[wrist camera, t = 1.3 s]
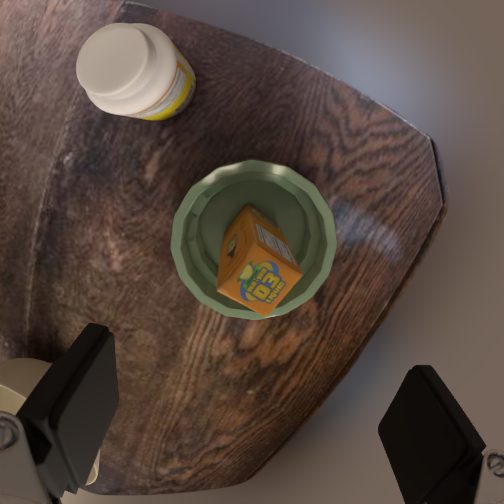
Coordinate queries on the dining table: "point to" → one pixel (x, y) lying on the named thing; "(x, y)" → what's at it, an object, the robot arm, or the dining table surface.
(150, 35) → the supplement bottle
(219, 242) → the green bowl
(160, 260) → the dining table surface
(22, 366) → the bowl
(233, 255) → the supplement box
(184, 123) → the dining table surface
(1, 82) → the dining table surface
